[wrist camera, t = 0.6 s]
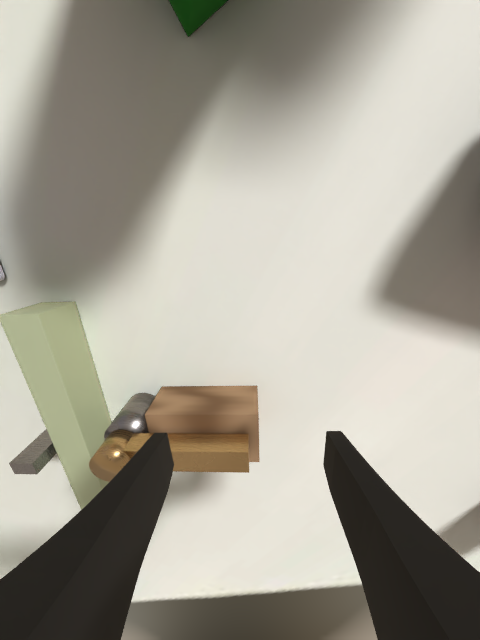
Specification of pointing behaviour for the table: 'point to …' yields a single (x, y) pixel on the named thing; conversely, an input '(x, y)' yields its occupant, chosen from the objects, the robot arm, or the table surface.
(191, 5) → the milk carton
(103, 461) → the latch bar
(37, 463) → the pivot post and stop
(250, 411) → the block
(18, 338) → the pale green bar
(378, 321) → the table surface
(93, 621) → the robot arm
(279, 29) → the table surface
